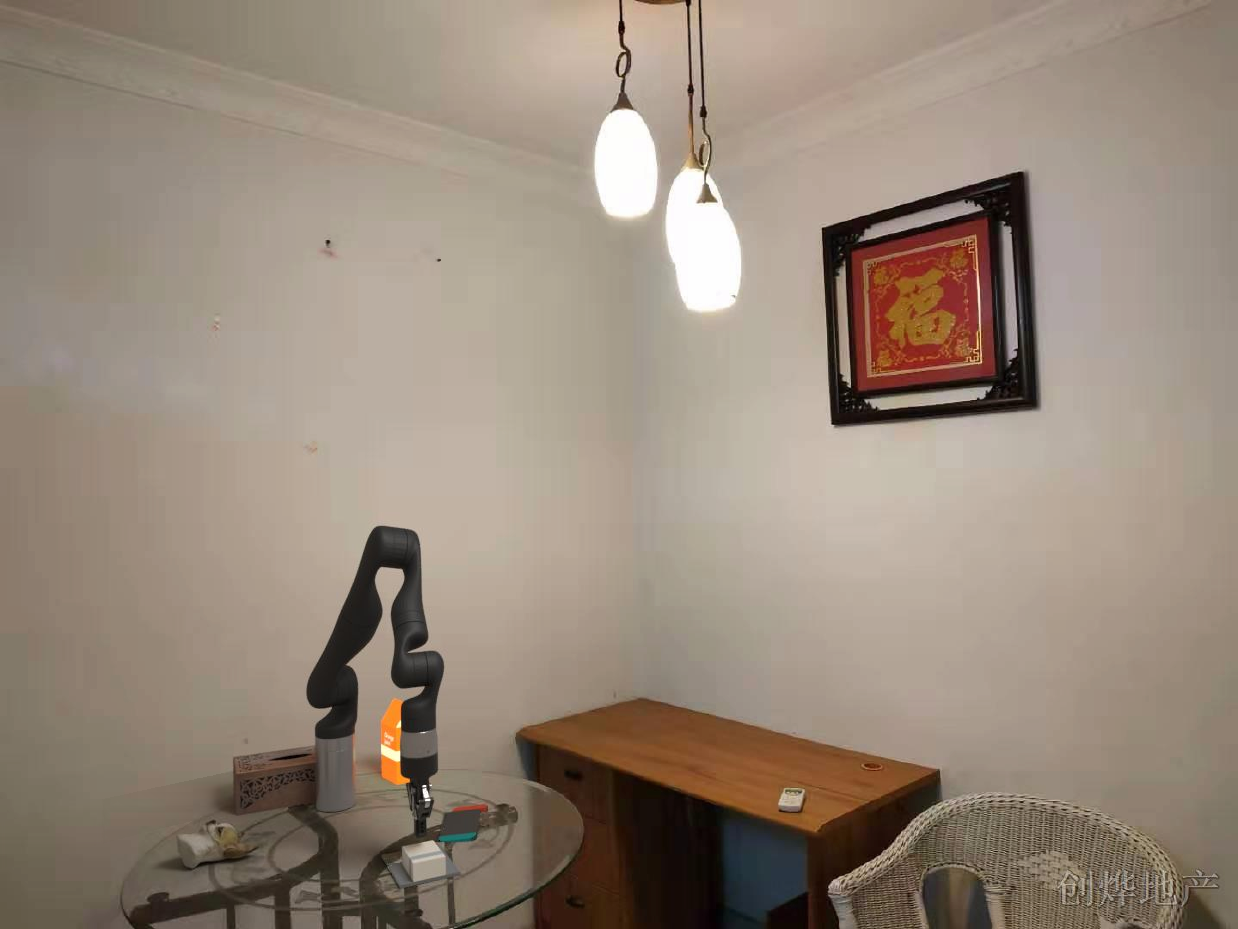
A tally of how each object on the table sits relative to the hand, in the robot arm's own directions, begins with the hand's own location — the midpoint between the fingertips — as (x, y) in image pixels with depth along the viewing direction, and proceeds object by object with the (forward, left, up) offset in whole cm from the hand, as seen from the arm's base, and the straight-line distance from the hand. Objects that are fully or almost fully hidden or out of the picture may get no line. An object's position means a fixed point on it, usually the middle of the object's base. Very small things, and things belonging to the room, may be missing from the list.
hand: (420, 836), depth 182 cm
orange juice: (-55, +10, -6) cm, 57 cm away
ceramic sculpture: (-25, -37, -7) cm, 45 cm away
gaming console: (-17, +14, -7) cm, 23 cm away
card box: (-1, 0, -4) cm, 4 cm away
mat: (0, 0, -6) cm, 6 cm away
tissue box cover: (-55, -18, -7) cm, 59 cm away
